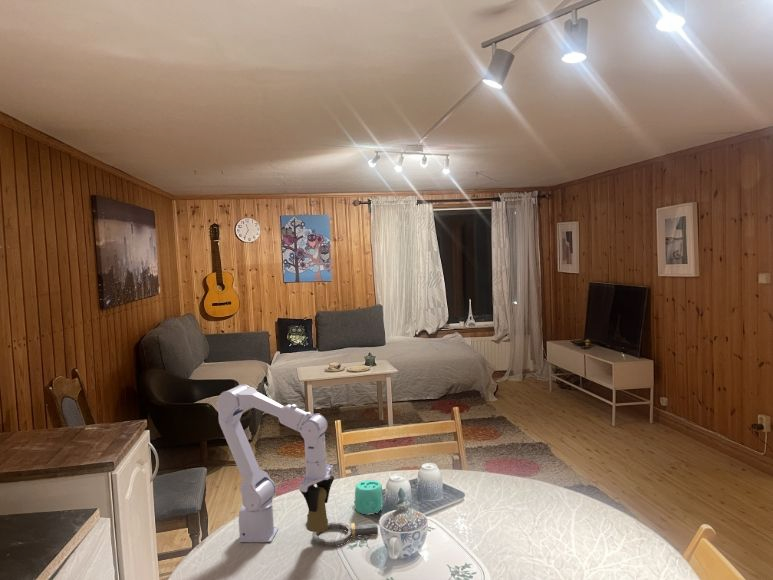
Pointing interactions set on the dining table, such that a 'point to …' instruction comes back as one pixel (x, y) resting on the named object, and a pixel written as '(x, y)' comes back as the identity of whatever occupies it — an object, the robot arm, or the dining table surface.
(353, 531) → the grey handled ring
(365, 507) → the teal tapered cylinder
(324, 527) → the olive tapered pawn
